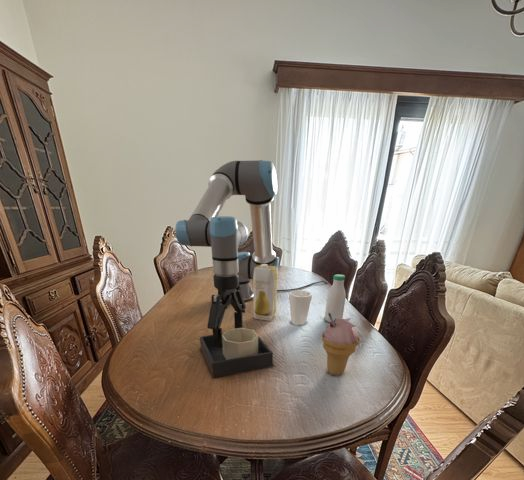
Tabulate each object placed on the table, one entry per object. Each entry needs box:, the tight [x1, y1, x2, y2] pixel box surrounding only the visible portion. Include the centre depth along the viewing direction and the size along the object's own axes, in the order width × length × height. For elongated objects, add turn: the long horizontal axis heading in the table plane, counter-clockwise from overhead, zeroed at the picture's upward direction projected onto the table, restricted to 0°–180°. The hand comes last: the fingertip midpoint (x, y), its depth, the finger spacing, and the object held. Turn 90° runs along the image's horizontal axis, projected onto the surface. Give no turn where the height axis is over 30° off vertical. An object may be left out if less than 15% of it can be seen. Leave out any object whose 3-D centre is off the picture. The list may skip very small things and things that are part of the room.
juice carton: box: [252, 264, 278, 322], centre depth 124 cm, size 9×8×24 cm
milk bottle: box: [324, 273, 347, 323], centre depth 124 cm, size 8×8×20 cm
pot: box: [222, 327, 259, 360], centre depth 94 cm, size 8×11×11 cm
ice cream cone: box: [321, 313, 361, 377], centre depth 86 cm, size 11×11×20 cm
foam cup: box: [288, 289, 313, 326], centre depth 123 cm, size 10×9×13 cm
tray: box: [199, 328, 274, 378], centre depth 97 cm, size 20×20×5 cm
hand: (229, 338), depth 95 cm, fingers open, 13 cm apart
